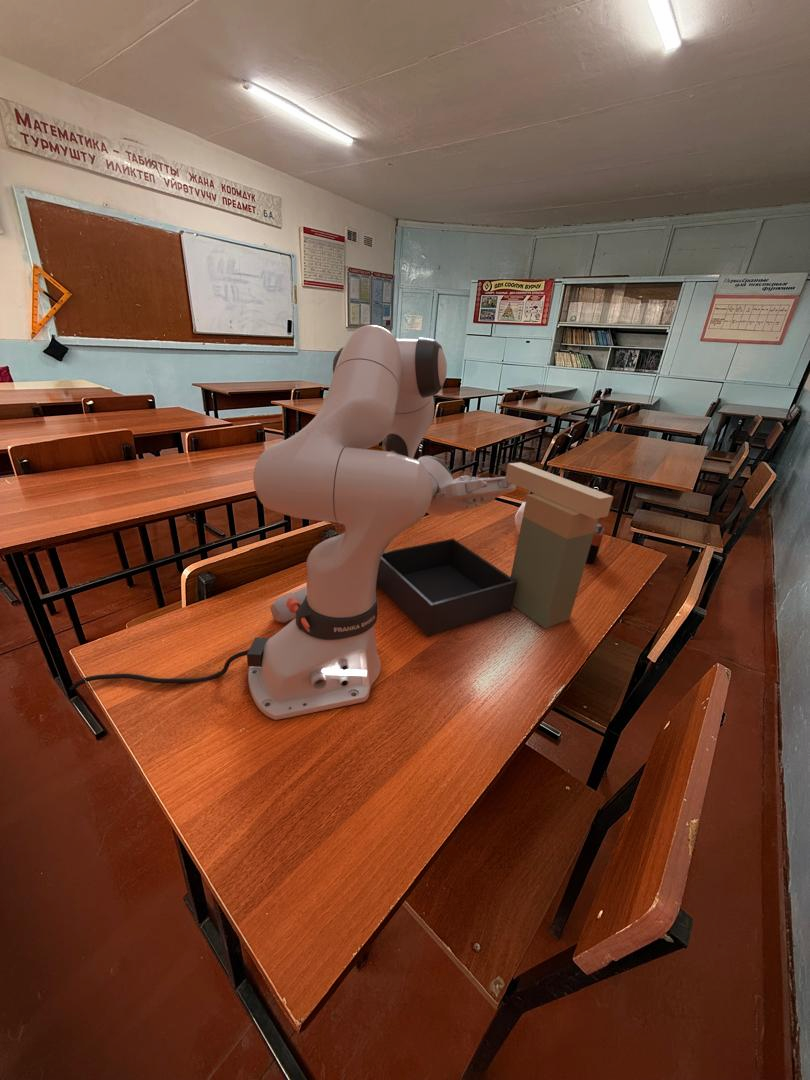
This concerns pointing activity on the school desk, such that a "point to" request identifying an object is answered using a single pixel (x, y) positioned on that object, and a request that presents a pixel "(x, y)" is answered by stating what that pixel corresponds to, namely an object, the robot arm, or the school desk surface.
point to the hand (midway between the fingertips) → (500, 481)
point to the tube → (280, 608)
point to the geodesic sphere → (519, 517)
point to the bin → (444, 585)
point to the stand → (550, 559)
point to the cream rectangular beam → (560, 490)
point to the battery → (595, 544)
